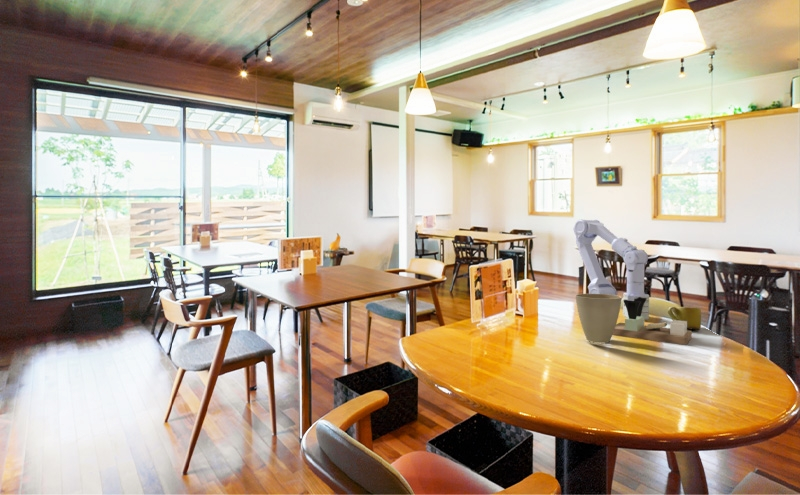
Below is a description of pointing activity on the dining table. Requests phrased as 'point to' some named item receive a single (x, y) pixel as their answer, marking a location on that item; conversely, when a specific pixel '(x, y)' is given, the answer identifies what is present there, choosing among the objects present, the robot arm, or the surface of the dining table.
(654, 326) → the tan flat block
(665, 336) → the panel
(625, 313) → the supplement box
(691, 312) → the mug
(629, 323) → the light green rectangular bar
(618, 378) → the dining table surface
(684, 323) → the button white
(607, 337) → the plant pot
